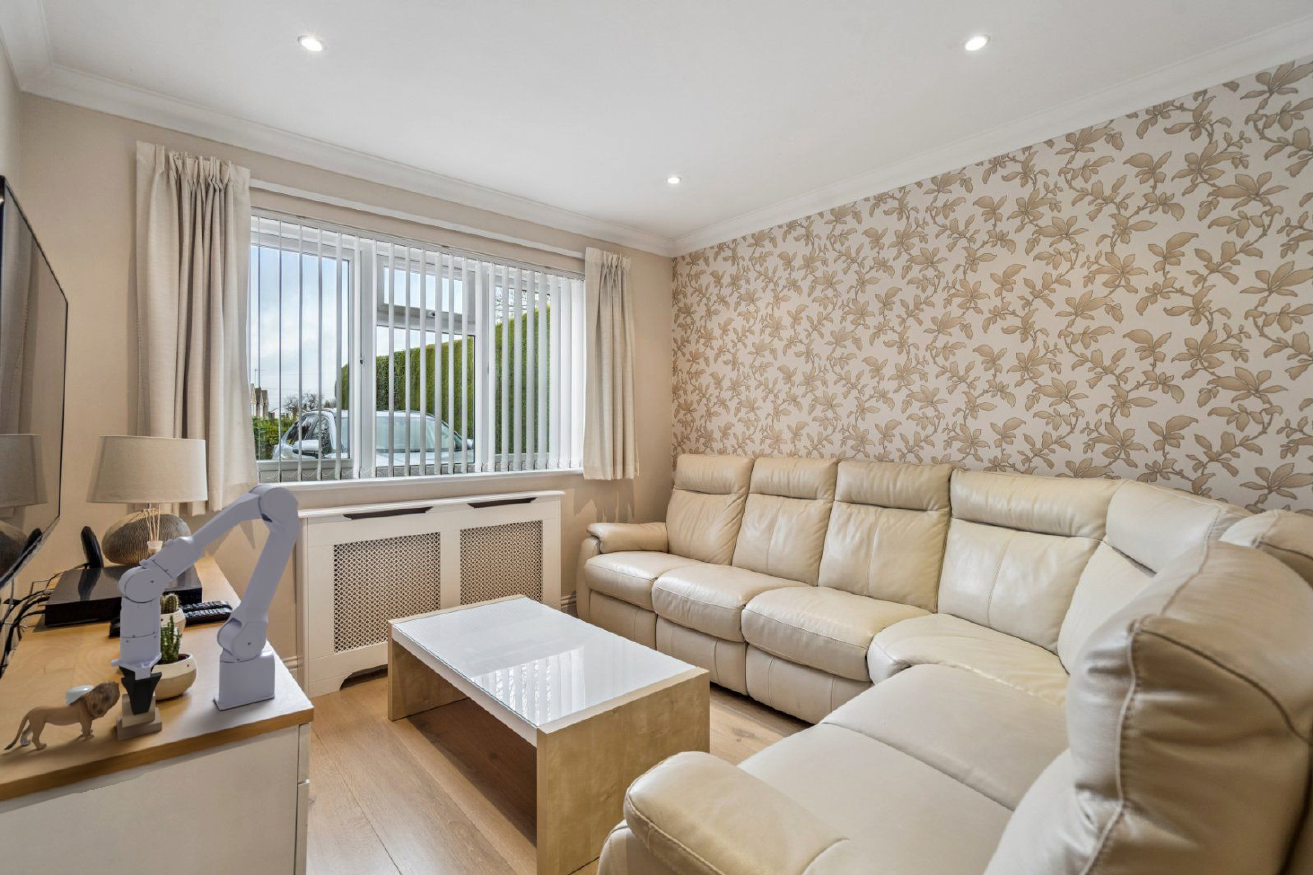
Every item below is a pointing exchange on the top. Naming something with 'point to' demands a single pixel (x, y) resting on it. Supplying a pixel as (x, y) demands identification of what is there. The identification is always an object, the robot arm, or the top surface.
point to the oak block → (131, 719)
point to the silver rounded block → (77, 693)
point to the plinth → (138, 727)
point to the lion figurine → (69, 714)
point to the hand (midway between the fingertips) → (139, 706)
